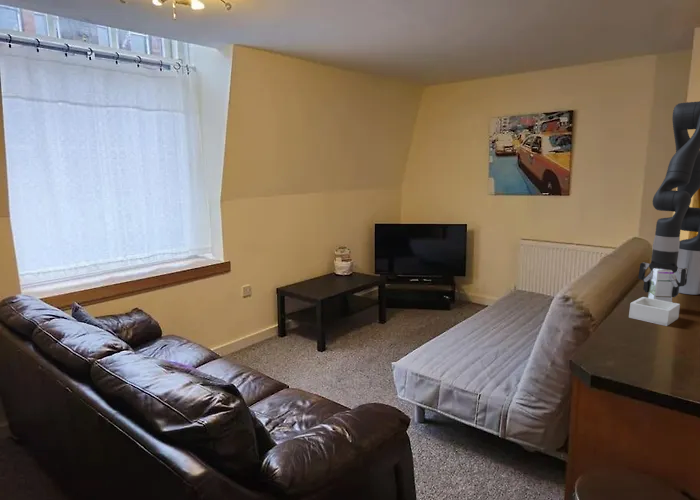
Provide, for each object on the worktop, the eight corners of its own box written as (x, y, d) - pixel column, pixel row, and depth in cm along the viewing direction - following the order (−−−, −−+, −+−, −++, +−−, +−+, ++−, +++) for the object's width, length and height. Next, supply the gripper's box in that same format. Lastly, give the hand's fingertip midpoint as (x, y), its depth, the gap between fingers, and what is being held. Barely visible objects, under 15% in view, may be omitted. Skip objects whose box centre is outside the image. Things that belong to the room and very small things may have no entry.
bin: (641, 310, 163) (642, 296, 162) (678, 318, 154) (680, 303, 153) (628, 317, 156) (630, 303, 155) (666, 326, 147) (668, 310, 146)
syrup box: (671, 311, 162) (676, 270, 159) (652, 310, 163) (657, 269, 160) (664, 306, 167) (669, 266, 164) (645, 305, 168) (650, 266, 166)
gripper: (693, 250, 158) (687, 296, 161) (646, 244, 169) (641, 288, 172) (686, 253, 153) (680, 301, 156) (638, 247, 164) (633, 292, 167)
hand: (660, 294), depth 164 cm, fingers closed on syrup box, 7 cm apart
